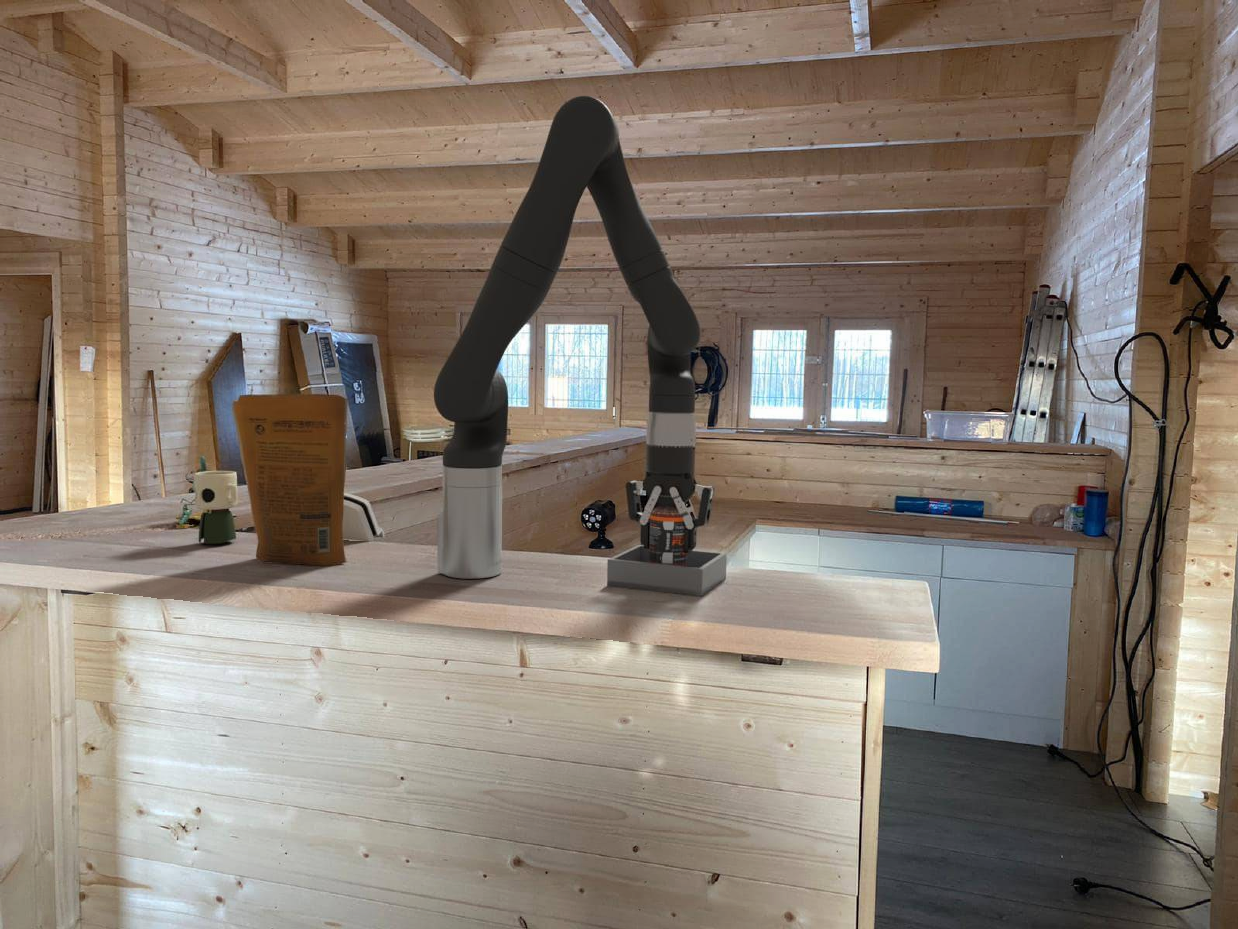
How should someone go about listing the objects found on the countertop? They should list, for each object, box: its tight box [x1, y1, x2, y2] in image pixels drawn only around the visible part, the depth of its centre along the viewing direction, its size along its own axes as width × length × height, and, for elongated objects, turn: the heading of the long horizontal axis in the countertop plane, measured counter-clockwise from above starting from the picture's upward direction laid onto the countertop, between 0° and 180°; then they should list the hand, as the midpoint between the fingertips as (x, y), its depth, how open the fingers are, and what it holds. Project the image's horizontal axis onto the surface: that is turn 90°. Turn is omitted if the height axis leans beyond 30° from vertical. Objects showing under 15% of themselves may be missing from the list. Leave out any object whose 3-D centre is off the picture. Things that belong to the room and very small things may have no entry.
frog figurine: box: [173, 455, 221, 530], centre depth 183 cm, size 10×18×15 cm, turn 160°
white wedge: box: [342, 492, 385, 542], centre depth 169 cm, size 17×5×10 cm, turn 70°
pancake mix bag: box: [231, 393, 349, 567], centre depth 145 cm, size 7×19×28 cm, turn 79°
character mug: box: [193, 470, 238, 545], centre depth 160 cm, size 11×7×13 cm, turn 60°
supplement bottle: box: [649, 495, 687, 566], centre depth 136 cm, size 6×6×11 cm
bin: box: [606, 544, 728, 597], centre depth 137 cm, size 15×13×4 cm
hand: (668, 549), depth 136 cm, fingers closed on supplement bottle, 6 cm apart
